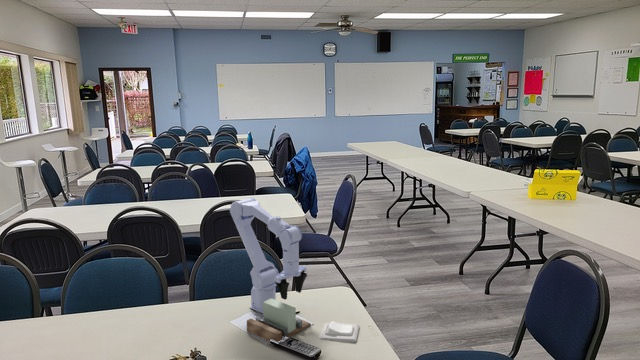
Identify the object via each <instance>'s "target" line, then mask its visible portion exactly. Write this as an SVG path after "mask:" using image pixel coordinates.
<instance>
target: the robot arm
mask: <svg viewBox="0 0 640 360" xmlns="http://www.w3.org/2000/svg"><path fill="white" fill-rule="evenodd" d="M229 213H230V216H231V218H232V220H233V222H234V224H235V228H236V230H237V232H238V233H239V236H240V238H241V241H242V243H243V245H244V247H245V250H246V252H247V256H248V258H249V259H250V261H251V264H252V266H253V267H252V268H251V270H250V272H249V274H250V277H251V282H252V288H251V290H250V303H251V305H250V306H249V309H252V310H255V311H257V312H259V313H261V314H263V302H264V301H266V300H268V299H271V298H272V299H274V300H277V299H276V298H277V296H276V292H277V291H276V287H277V288H278V291H279V294H280V297H281V299H283V300H287V299H288V289H289V286H290V282H288V281H287V279H290V278H294V287H295V288H294V289H295V292H297V293H299V294H300V293H302V290H303V285H304V282H305V280H306V278H307V277H308V273H306V272H307V266H306V265H300V255H299V253H300V245H299V244H300V241H301V240H302V239H303V233H302V230H301V229H300V227H298V225H290V224H289V223H287V222H286V221H285V220H283V219H282V217H280V216H273V215H271V214H270V213H269V212H268V211H267V210H266V209H265V208H263V207H262V206H261V205H260V201H259V200H257V199H256V198H254V197H250V198H245V199H241V200H238V201H237V200H235V201H233V202H232V203H231V205H230V209H229ZM254 218H257V219H258V220H260V221H261V222H263V223H264V224H266V225H267V229H268V230H269V231H270V232H272V233H273V234H274V235H275V236H277V237H278V239H279V241H280V244H281V248H282V265H283V266H282V269H283V270H282V271H280V273H279V270H278V269H277V268H276V267H275V264H274V263H273V262H271V261H268V260H267V259H266V256H265V253H264V252H263V250H262V248H261V246H260V245H261V244H260V242H259V241H258V239H257V236H256V234H255V231H254V229H253V227H252V225H251V224H252V221H253V220H254Z"/></svg>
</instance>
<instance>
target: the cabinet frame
mask: <svg viewBox="0 0 640 360" xmlns="http://www.w3.org/2000/svg"><path fill="white" fill-rule="evenodd" d="M311 325H312V324H311V322H309V321H307V320H304V319H301V318H298V317H297V316H296V329H295V330H293V331H292V332H290V333H288V329H287V328H285V327H282V326H280V325H278V324H275V323H273V322H271V321H269V320H266V319H264V318H263V316H257V317H255V319H253V318H249V319H246V332H248V333H249V334H250V333H251V334H252V335H255V336H256V337H259V338H260V339H263V340H264V341H265V340H266V341H268V342H269V341H270V339H273V340H275V341H277V342H278V341H280V340H282V336H284V337H285V336H287V337H291V338H292V337H294V336H296V335H298V334H299V333H301V332H302V331H304V330H306V329H308V328H309V327H311Z"/></svg>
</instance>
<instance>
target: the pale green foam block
mask: <svg viewBox="0 0 640 360" xmlns="http://www.w3.org/2000/svg"><path fill="white" fill-rule="evenodd" d="M296 313H297V312H296V307H294V306H292V305H289V304H287V303H284V302H281V301H280V300H277V299H276V300H274V299H272V298H271V299H268V300H266V301H264V302H263V313H262V314H263V316H262V318H264V319H266V320H269V321H271V322H273V323H275V324H278V325H280V326H282V327H285V328H287V329H288V333H290V332H292V331H293V330H295V329H296V317H297V316H296V315H297V314H296Z"/></svg>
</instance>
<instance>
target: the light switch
mask: <svg viewBox="0 0 640 360" xmlns="http://www.w3.org/2000/svg"><path fill="white" fill-rule="evenodd" d="M359 330H360V325H359V324H358V323H343V322H338V321H333V320H332V321H330V322H325V323H324V324H323V327H322V329H321V332H320V335H319V337H318V340H325V341H335V342H344V343H356V342H357V340H358V335H359Z"/></svg>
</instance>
